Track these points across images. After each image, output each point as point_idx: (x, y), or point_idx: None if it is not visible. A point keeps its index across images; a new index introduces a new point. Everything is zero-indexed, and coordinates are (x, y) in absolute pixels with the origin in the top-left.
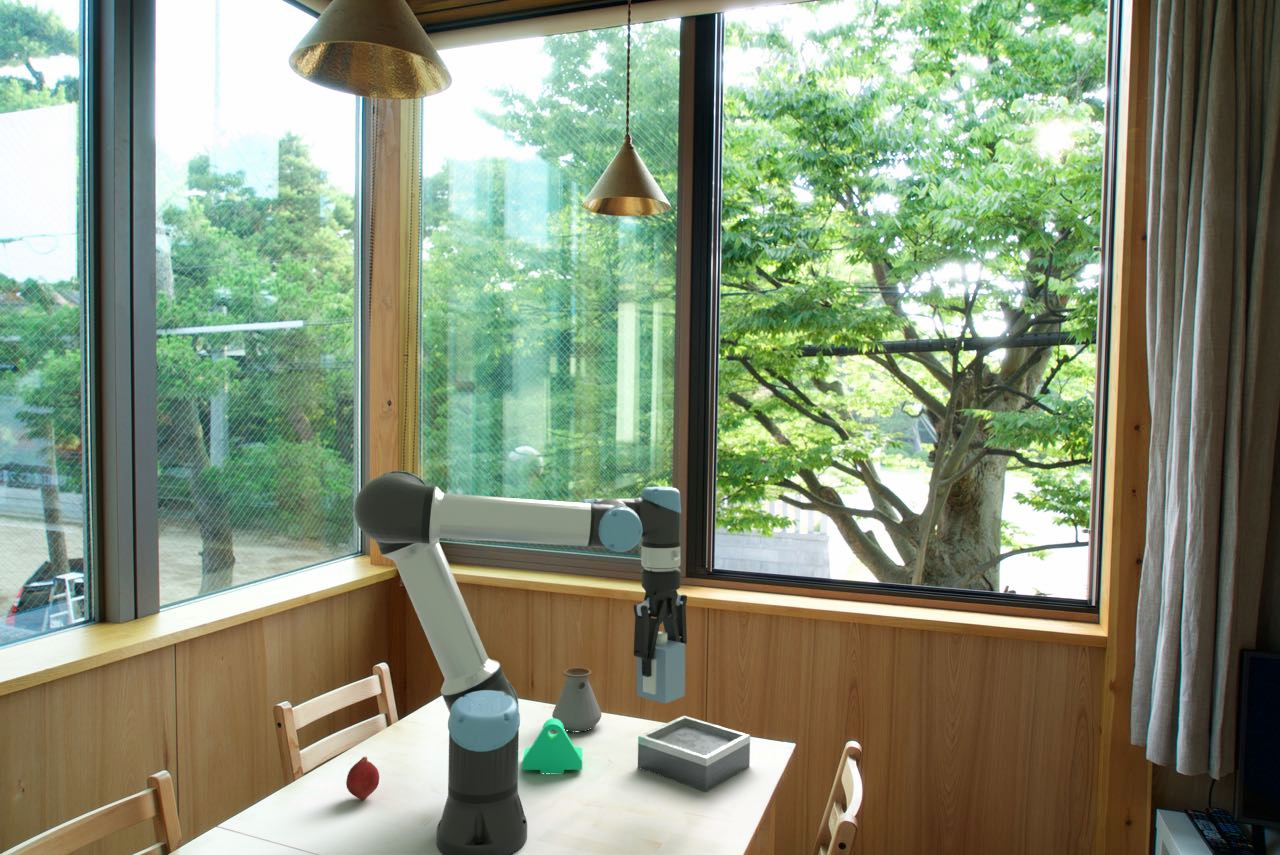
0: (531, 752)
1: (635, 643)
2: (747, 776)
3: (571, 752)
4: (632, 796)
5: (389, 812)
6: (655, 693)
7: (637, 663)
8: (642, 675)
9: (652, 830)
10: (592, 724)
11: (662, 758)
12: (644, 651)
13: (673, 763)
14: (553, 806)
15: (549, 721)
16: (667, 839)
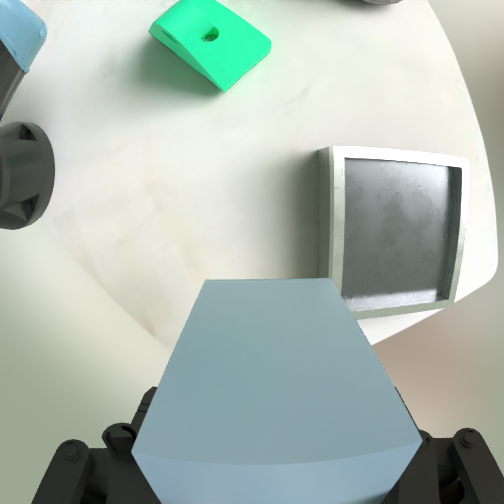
0: (153, 31)
1: (42, 496)
2: None
3: (204, 70)
4: (221, 220)
5: None
6: None
7: (173, 356)
8: (152, 387)
9: (167, 310)
10: (370, 2)
11: (326, 212)
12: (85, 502)
13: (325, 238)
14: (111, 157)
15: (174, 9)
16: (166, 335)
